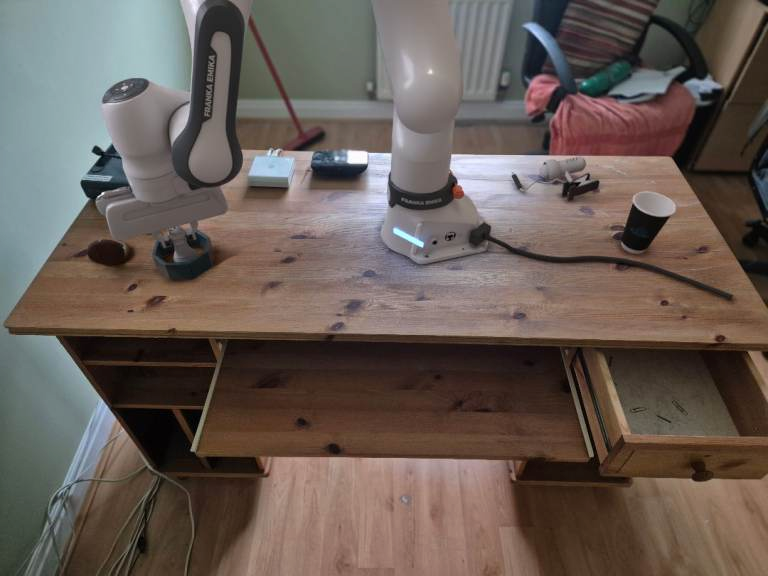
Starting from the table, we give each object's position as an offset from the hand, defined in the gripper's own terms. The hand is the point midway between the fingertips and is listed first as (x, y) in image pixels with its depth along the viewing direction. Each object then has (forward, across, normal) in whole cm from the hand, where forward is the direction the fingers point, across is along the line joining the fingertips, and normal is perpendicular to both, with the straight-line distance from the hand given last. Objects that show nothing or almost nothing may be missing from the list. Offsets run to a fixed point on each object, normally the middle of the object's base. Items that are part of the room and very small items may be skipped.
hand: (179, 241), depth 94 cm
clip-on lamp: (+5, +82, -11) cm, 83 cm away
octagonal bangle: (+5, 0, 0) cm, 5 cm away
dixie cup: (+5, +84, -35) cm, 91 cm away
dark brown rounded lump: (+5, -13, +7) cm, 16 cm away
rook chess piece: (+5, 0, 0) cm, 5 cm away
